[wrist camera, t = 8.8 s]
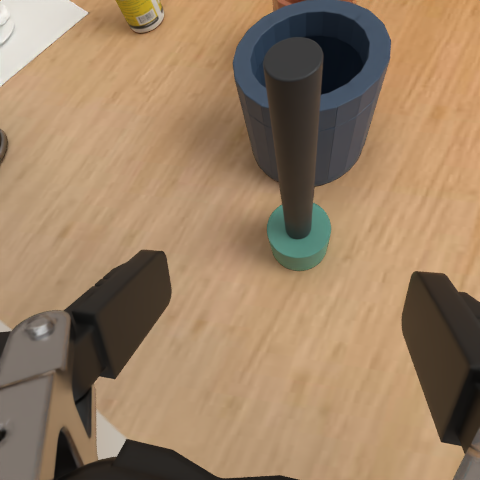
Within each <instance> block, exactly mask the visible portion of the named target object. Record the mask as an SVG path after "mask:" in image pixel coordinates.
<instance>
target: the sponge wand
mask: <svg viewBox="0 0 480 480" xmlns="http://www.w3.org/2000/svg"><path fill="white" fill-rule="evenodd" d="M263 68H264V75H265V83H266V90H267V97H268V105H269V112H270V119H271V126H272V134H273V141H274V148H275V156H276V163H277V170H278V178H279V185H280V192H281V199H282V205H280V206H279V207H278V208H277V209H275V211H274V212H273V213H272V214H271V216H270V218H269V220H268V224H267V235H268V239H269V242H270V245H271V249H272V252H273V255H274V257H275V258H276V260H277V261H278V262H279V263H280V264H281V265H282V266H284V267H286V268H288V269H291V270H295V271H304V270H308V269H311V268H313V267H315V266H316V265H318V264H319V263H320V262H321V261H322V259H323V258H324V256H325V254H326V251H327V247H328V242H329V238H330V234H331V224H330V220H329V218H328V215H327V214H326V212H325V211H324V210H323V209H322V208H321V207H320V206H318V205H317V204H315V203H313V196H314V182H315V168H316V154H317V140H318V126H319V112H320V98H321V84H322V70H323V52H322V49H321V47H320V46H319V45H318V44H317V43H316V42H315V41H313V40H311V39H308V38H304V37H292V38H288V39H284V40H282V41H280V42H278V43H276V44H275V45H273V46H272V47H271V48H270V49H269V50H268V52H267V53H266V55H265V57H264V61H263Z"/></svg>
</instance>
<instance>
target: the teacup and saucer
mask: <svg viewBox="0 0 480 480" xmlns="http://www.w3.org/2000/svg"><path fill="white" fill-rule="evenodd" d="M14 28H15V22H14V20H13V19H12V18H11V17H10V10H9V9H8V7H7V6H6V5H5V4H3V3H0V45H2V44H3V43H4V42H5V41H6V40H7V39H8V38H9V37H10V36H11V34H12V33H13V31H14Z"/></svg>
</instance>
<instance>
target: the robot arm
mask: <svg viewBox="0 0 480 480" xmlns="http://www.w3.org/2000/svg"><path fill="white" fill-rule="evenodd" d="M6 148H7V138H6V135H5V133H4V132H3V131H2V130H1V129H0V162H1V160H2V159H3V157H4V155H5V152H6ZM171 293H172V289H171V282H170V276H169V270H168V264H167V258H166V255H165V253H164V252H163V251H153V250H141V251H139V252H138V253H137V254H136V255H135V256H134V257H132V258H131V259H130V260H129V261H128V262H126V263H124V264H122V265H120V266H118V267H116V268H114V269H112V270H111V271H110V272H109V273H108V274H107V275H105V276H104V277H103V279H101V280H99V281H98V282H97V283H96V284H95V286H92V287H91V288H90V289H89V290H88V291H86V292H85V293H84V294H83V295H82V296H81V297H79V298H78V299H77V300H76V301H75V302H74V303H72V304H71V305H70V306H69V307H68V308H66V309H65V310H64V311H61V310H52V311H46V312H42V313H39V314H36V315H34V316H32V317H29V318H27V319H26V320H24V321H22V322H21V323H19V324H18V325H17V326H16V327H15V328H14V329H13V330H12V331H9V332H0V480H298V479H294V478H289V477H285V476H281V475H278V476H260V477H243V478H219V477H217V476H214V475H213V474H211V473H210V472H208V471H206V470H205V469H203V468H201V467H200V466H198V465H197V464H195V463H193V462H192V461H190V460H188V459H187V458H185V457H183V456H182V455H180V454H179V453H177V452H175V451H174V450H171V449H167V448H162V447H158V446H154V445H150V444H146V443H141V442H137V441H133V440H129V439H126V441H125V443H124V445H123V447H122V448H121V450H120V452H119V454H118V456H117V457H111V458H106V459H101V460H98V456H97V448H96V447H97V446H96V388H95V385H94V382H95V381H96V380H97V378H98V377H99V376H101V377H106V378H111V379H116V377H117V376H118V375H119V373H120V372H121V370H122V369H123V368H124V366H125V365H126V363H127V362H128V361H129V359H130V358H131V356H132V355H133V354H134V352H135V351H136V349H137V348H138V347H139V345H140V344H141V342H142V341H143V340H144V338H145V337H146V335H147V334H148V333H149V331H150V330H151V328H152V327H153V326H154V324H155V323H156V321H157V320H158V319H159V317H160V316H161V314H162V313H163V312H164V310H165V309H166V307H167V306H168V304H169V302H170V299H171ZM402 332H403V336H404V339H405V341H406V344H407V347H408V350H409V353H410V356H411V358H412V361H413V364H414V367H415V370H416V372H417V375H418V378H419V381H420V384H421V387H422V389H423V392H424V395H425V398H426V401H427V404H428V406H429V409H430V412H431V415H432V418H433V420H434V423H435V426H436V429H437V432H438V435H439V437H440V440H441V442H443V443H449V444H454V445H459V446H462V448H463V451H464V453H465V456H464V458H463V460H462V462H461V464H460V466H459V468H458V470H457V472H456V474H455V476H454V478H453V480H480V302H478V301H477V300H476V299H474V298H473V297H471V296H470V295H468V294H467V293H465V292H458V291H457V290H456V288H455V287H454V285H453V284H452V283H451V281H450V280H449V278H448V277H447V276H446V275H445V274H443V273H431V272H418V271H415V272H413V274H412V276H411V279H410V283H409V287H408V291H407V296H406V300H405V304H404V308H403V313H402Z"/></svg>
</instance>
